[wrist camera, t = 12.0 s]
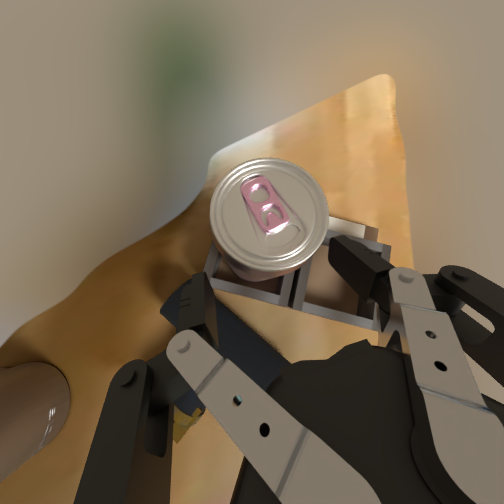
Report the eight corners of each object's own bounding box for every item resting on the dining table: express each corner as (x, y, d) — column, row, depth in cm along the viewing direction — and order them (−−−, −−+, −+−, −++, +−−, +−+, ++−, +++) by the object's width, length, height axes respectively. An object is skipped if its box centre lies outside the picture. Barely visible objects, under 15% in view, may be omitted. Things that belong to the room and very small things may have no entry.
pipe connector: (222, 496, 16) (98, 374, 17) (227, 444, 21) (132, 354, 22) (302, 377, 18) (186, 277, 19) (288, 357, 23) (198, 279, 24)
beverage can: (263, 227, 24) (293, 135, 9) (285, 268, 23) (358, 237, 8) (221, 248, 23) (183, 184, 9) (243, 290, 22) (242, 301, 8)
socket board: (204, 285, 24) (195, 285, 19) (231, 194, 26) (229, 177, 22) (359, 326, 23) (383, 335, 19) (372, 231, 26) (396, 221, 22)
